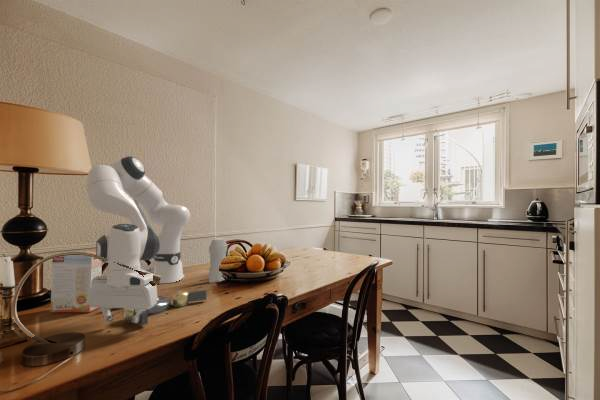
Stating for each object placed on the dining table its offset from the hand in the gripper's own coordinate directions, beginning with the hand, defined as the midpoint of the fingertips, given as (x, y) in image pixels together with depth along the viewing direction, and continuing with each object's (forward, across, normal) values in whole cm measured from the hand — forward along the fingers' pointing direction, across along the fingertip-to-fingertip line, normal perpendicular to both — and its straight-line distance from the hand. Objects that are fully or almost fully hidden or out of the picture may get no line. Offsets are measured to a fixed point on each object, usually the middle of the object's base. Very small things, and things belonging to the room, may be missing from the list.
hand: (122, 321), depth 85 cm
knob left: (+2, +10, +23) cm, 26 cm away
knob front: (+2, +2, +5) cm, 5 cm away
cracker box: (+2, -27, +13) cm, 30 cm away
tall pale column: (+2, +9, +57) cm, 58 cm away
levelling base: (+2, -1, +17) cm, 17 cm away
